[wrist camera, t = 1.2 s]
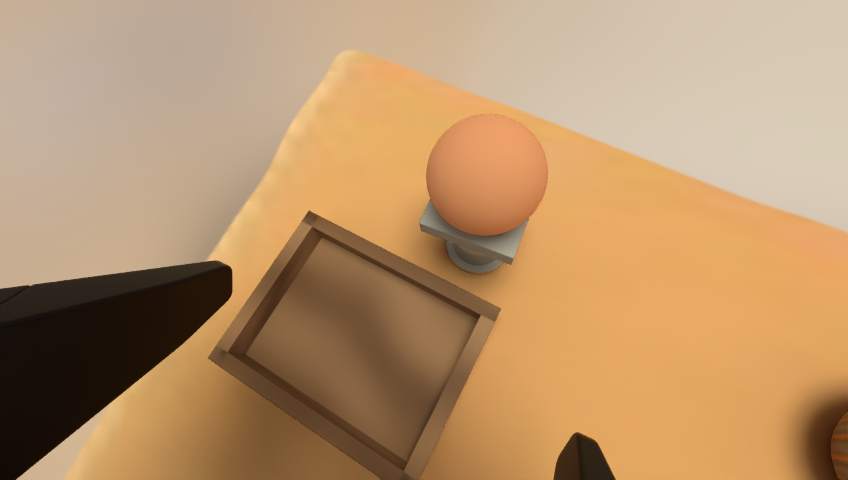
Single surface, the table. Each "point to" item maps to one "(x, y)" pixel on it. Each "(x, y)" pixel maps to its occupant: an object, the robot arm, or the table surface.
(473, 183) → the ball
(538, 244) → the table surface
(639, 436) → the table surface
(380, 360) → the tray
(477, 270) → the stand
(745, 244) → the table surface
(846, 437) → the vase
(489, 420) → the table surface
